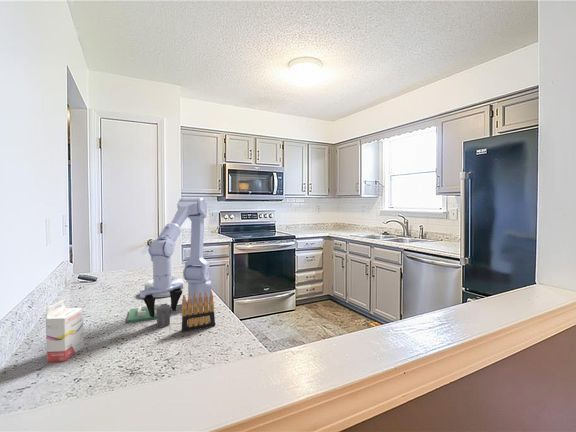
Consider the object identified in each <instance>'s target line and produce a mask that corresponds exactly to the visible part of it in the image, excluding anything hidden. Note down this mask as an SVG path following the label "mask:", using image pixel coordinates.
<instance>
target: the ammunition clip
mask: <svg viewBox="0 0 576 432" xmlns="http://www.w3.org/2000/svg"><path fill="white" fill-rule="evenodd" d="M212 291H213V290H212ZM212 291H211V292H210V299H209V304H208V296H207V292H205V295H204V304H203V301H202V294H201V292H200V294H199V304H197V296H196V293H195V294H194V298H193V306H192V299H191V295H190V294H189V296H188V297H186V295H185V294H183V295H182V303H181V304H182V305H181V332H182V333H184V332H189V330H191V331H196V330H201V329H200V328H202V329H207V328H206V327H208V328H213V327H215V326H216V321H215V320H216V318H215V317H216V316H215V302H214V293H213V292H212ZM186 298H187V299H186ZM187 300H188V303H187ZM212 326H213V327H212ZM195 329H196V330H195Z"/></svg>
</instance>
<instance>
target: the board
mask: <svg viewBox="0 0 576 432" xmlns="http://www.w3.org/2000/svg"><path fill="white" fill-rule="evenodd" d="M162 305H168V303H162V304H161V303H155V305H154V312H155V315H154V317H150V315H149V311H148V308H147V306H146V304H145V305H140V306H139V305H138V307H137V308H131V309H129V313H128V315H127V319H126V324H131V323H137V322H139V323H140V322H144V321H145V322H146V321H151V320H157V306H162ZM170 309H171V307H169V312H170Z"/></svg>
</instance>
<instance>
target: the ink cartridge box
mask: <svg viewBox="0 0 576 432" xmlns="http://www.w3.org/2000/svg"><path fill="white" fill-rule="evenodd" d="M56 307H58V308H56ZM55 308H56V309H55ZM83 309H84V308H83V307H76V308H75V307H74V308H73V307H71V308H70V307H69V308H67V298H64V299H62V300H59V301H58V302H56V303H55V302H54V303H53V304H52V305H50V306H47V307H46V311H45V313H46V314H45V336H46V339H45V340H46V361H47V363H51V362H66V361H67V360H68V359H70V358H71V357H72V356H74V355H75V354H76V353H78V352H79V351H80V350H82V349H83V348H84V317H83V315H84V312H83V311H84V310H83Z"/></svg>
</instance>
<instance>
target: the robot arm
mask: <svg viewBox="0 0 576 432" xmlns="http://www.w3.org/2000/svg"><path fill="white" fill-rule="evenodd" d="M176 206H177V207H176V208H177V210H176V213H175V214H174V217H173V218H172V220H171V223H170V222H169V223H167V224H166V225H165V226H164V227H163V229H162V230H161V232H160V234H159V235H158V237H157V239H155V240H153V241H151V242H150V244H149V245H148V250H147V251H148V254H149V256H150V261H151V262H152V279H153V287H152V288H149V289H146V290H144V289H142V290H140V291H139V298H142V300H143V301H144V304H145V305H146V306H147V308H148V311H149V315H150V317H154V315H155V312H154V305H155V304H156V297H153V296H152V295H155V294H160V293H164V292H170V296H169V297H170V309H171V311H172V312H176V311H177V308H178V307H177V306H178V303H179V301H180V298H181V296H182V294H183V290H184V289H185V287H184V288H183V283H184V282H183V283H175V284H171V276H172V263H171V262H172V259H171V256H173V254H174V252H175V246H176V241H177V240H178V238H179V236H180V235H181V232H182V230H181V226H183V224H184V223H185V221H186V220H187V218H188V219H189V220H190V222H191V223H190V224H191V225H190V227H191V229H190V254H189V255H190V256H189V259H188V260H187V261H186V262H184V269H183V271H182V277H183V279H184V280H185V282H186V283H187V291H188V292H187V295H188V296H189V294H190V295H191V299H192V307H193V298H194V294H195V293H196V296H197V304H199V294H200V292H201V294H202V301H203V305H204V295H205V292H207V296H208V304H209V299H210V292H211V291H213V290H212V281H211V280H209V278H210V277H211V270H210V262H208V261H207V260H206V259H205V258H204V239H205V238H204V234H205V219H206V218H207V213H208V212H207V210H208V209H207V208H208V203H207V202H206V200H205V199H204V197H181V198H180V199H178V202H177V204H176ZM181 289H183V290H181ZM186 304H188V299H186Z"/></svg>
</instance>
